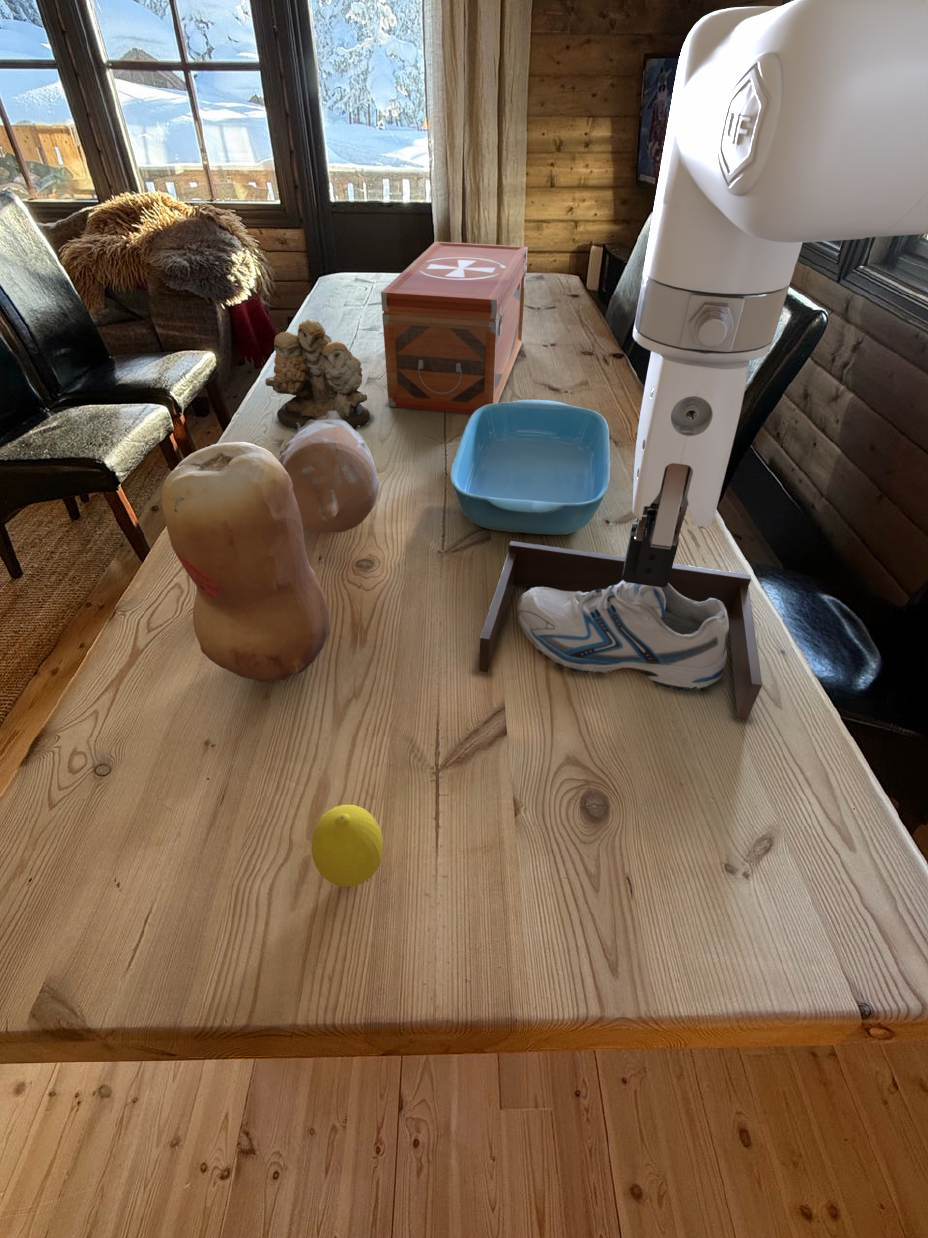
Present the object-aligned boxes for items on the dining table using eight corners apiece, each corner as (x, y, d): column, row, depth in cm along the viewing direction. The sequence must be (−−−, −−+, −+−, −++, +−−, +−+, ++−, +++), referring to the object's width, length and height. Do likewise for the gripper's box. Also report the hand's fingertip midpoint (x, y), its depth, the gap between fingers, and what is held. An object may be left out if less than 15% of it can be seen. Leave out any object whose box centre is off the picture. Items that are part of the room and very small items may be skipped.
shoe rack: (747, 719, 67) (765, 678, 63) (478, 671, 72) (480, 630, 68) (736, 614, 79) (750, 574, 75) (507, 579, 84) (510, 540, 80)
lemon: (394, 891, 53) (387, 837, 48) (326, 914, 51) (311, 862, 46) (377, 833, 57) (369, 777, 52) (313, 853, 55) (298, 798, 50)
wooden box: (523, 343, 152) (529, 246, 139) (494, 416, 122) (499, 300, 108) (437, 337, 155) (435, 241, 142) (387, 406, 125) (379, 292, 111)
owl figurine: (264, 432, 116) (243, 331, 105) (281, 404, 125) (264, 309, 114) (365, 434, 115) (355, 333, 104) (375, 407, 124) (367, 311, 113)
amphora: (266, 488, 76) (286, 351, 95) (268, 580, 88) (286, 443, 107) (385, 500, 79) (382, 365, 98) (372, 588, 91) (371, 453, 110)
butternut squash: (187, 665, 72) (108, 456, 56) (286, 606, 80) (242, 407, 63) (264, 730, 65) (198, 513, 49) (364, 659, 73) (336, 451, 57)
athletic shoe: (520, 603, 80) (525, 536, 70) (715, 632, 77) (749, 567, 67) (506, 673, 74) (509, 611, 65) (716, 708, 71) (753, 648, 61)
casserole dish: (475, 430, 117) (476, 391, 112) (602, 439, 115) (608, 399, 110) (438, 547, 89) (437, 501, 85) (604, 563, 87) (613, 516, 82)
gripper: (797, 367, 30) (700, 656, 42) (764, 282, 41) (695, 530, 53) (630, 352, 31) (582, 636, 43) (642, 274, 42) (601, 518, 54)
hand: (644, 577), depth 48 cm, fingers closed
